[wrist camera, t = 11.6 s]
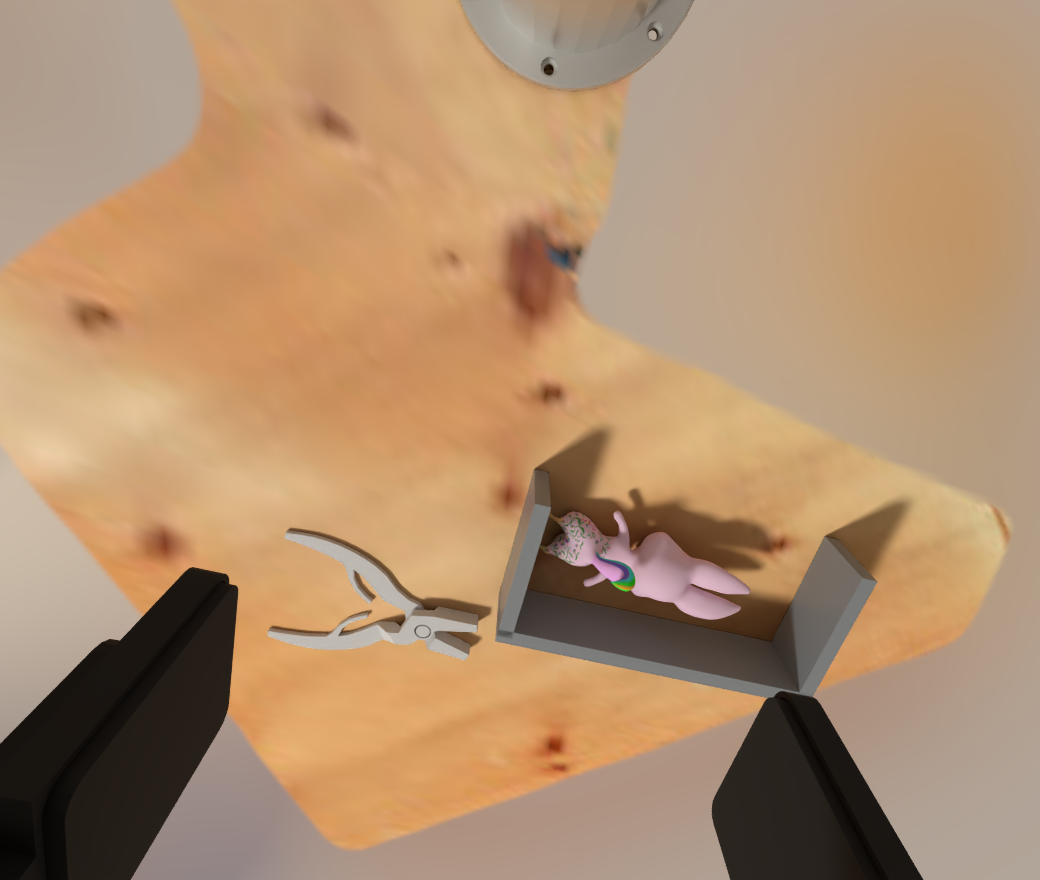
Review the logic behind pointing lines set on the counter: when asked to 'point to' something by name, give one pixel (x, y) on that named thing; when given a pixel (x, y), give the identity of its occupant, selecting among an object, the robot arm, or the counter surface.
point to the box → (679, 646)
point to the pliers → (417, 618)
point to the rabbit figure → (646, 566)
